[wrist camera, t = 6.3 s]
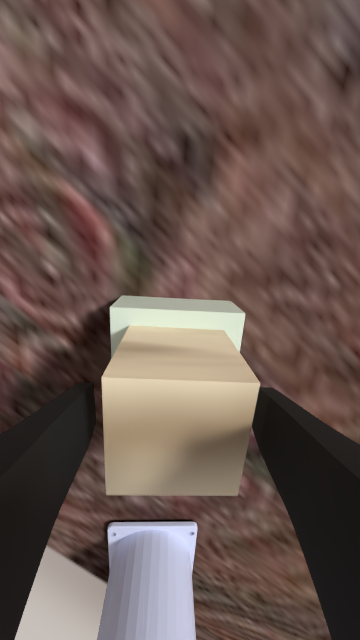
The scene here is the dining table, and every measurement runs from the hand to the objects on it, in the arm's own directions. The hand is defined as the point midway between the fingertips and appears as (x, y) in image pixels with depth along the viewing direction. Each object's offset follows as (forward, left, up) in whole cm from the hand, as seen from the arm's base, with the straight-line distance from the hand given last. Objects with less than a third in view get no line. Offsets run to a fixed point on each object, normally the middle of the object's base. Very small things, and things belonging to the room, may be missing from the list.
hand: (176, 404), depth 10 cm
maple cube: (0, 0, -3) cm, 3 cm away
